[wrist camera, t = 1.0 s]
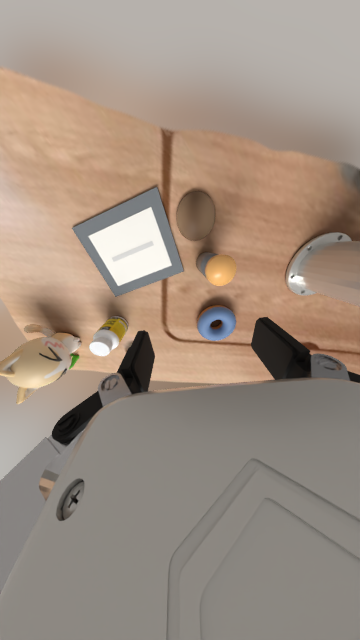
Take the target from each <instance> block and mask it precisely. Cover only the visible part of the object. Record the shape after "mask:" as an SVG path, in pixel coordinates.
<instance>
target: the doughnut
mask: <svg viewBox="0 0 360 640" xmlns="http://www.w3.org/2000/svg"><path fill="white" fill-rule="evenodd" d="M214 320H222V321H221V324H220V325H219V326H217V327H211V326H210V324H211V323H212V322H213V321H214ZM235 325H236V318H235V315H234V314H233V312H232V311H231V310H230V309H229V308H227V307H225V306H222V305H214V306H210V307H208V308H206V309H205V310H203V311H202V312H201V314H200V315H199V317H198V320H197V328H198V331H199V333H200V334H201V335H202V336H203V337H204V338H206V339H208V340H213V341H215V340H221V339H224V338H226V337H227V336H229V335H230V334H231V333H232V332H233V330H234V328H235Z"/></svg>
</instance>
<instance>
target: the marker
mask: <svg viewBox="0 0 360 640" xmlns="http://www.w3.org/2000/svg"><path fill="white" fill-rule="evenodd" d="M196 265H197V268H198V270H199V271H200V272H201V273H202V274H203V275H204V276H205V277H206V278H207V279H208V280H209V281H210V282H211V283H212V284H214V285H216V286H222V285H225V284H227V283H229V282H230V281H231V280H232V279H233V277H234V275H235V273H236V263H235V261H234V259H233V258H232V257H230V256H228V255H222V254H214V253H209V252H205V253H202V254H201V255H199V257H198V258H197V261H196Z"/></svg>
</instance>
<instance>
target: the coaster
mask: <svg viewBox="0 0 360 640" xmlns="http://www.w3.org/2000/svg"><path fill="white" fill-rule="evenodd" d="M214 221H215V208H214V205H213V202H212V200H211V199H210V198H209V196H208V195H206V194H205V193H203V192H199V191H195V192H191V193H189V194H187V195H186V196H185V197H184V198H183V199H182V201H181V202H180V204H179V207H178V210H177V225H178V228H179V230H180V232H181V234H182V235H183V236H184V237H185V238H187V239H189V240H193V241H196V240H200V239H202V238H204V237H206V236H207V235H208V234H209V232H210V231H211V229H212V227H213V225H214Z"/></svg>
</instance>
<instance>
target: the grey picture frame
mask: <svg viewBox="0 0 360 640" xmlns="http://www.w3.org/2000/svg"><path fill="white" fill-rule="evenodd" d="M72 229H73V231H74V232H75V234H76V235H77V237H78V239H79V240H80V242H81V243H82V245H83V246H84V248H85V250H86V251H87V253H88V254H89V256H90V257H91V259H92V261H93V262H94V264H95V265H96V267H97V268H98V270H99V271H100V273H101V275H102V276H103V278H104V279H105V281H106V282H107V284H108V286H109V287H110V289H111V290H112V292H113V293H114V295H115V297H117V296H119V295H122V294H125V293H127V292H130V291H133V290H135V289H138V288H141V287H143V286H146V285H149V284H151V283H154V282H157V281H159V280H162V279H165V278H167V277H170V276H173V275H175V274H178V273H181V272H183V267H182V264H181V261H180V258H179V255H178V252H177V249H176V245H175V242H174V239H173V236H172V233H171V230H170V226H169V223H168V220H167V217H166V214H165V211H164V208H163V204H162V201H161V198H160V195H159V192H158V189H157V187H156V188H154V189H151V190H149V191H147V192H145V193H143V194H141V195H139V196H137V197H135V198H133V199H131V200H129V201H127V202H125V203H123V204H121V205H119V206H117V207H114V208H112V209H110V210H108V211H106V212H104V213H102V214H100V215H98V216H96V217H94V218H92V219H90V220H88V221H86V222H84V223H82V224H80V225H78V226H75V227H73V228H72Z"/></svg>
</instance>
